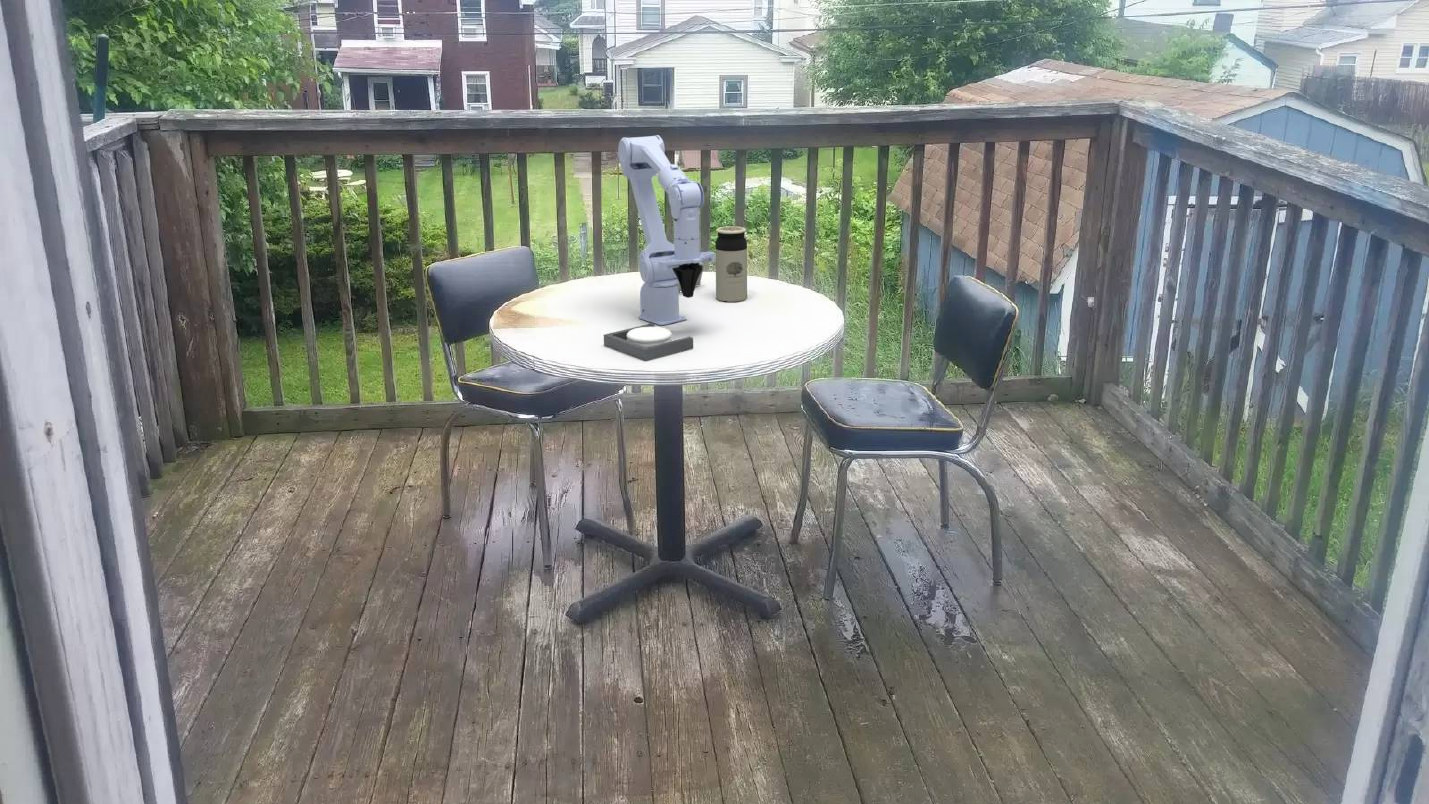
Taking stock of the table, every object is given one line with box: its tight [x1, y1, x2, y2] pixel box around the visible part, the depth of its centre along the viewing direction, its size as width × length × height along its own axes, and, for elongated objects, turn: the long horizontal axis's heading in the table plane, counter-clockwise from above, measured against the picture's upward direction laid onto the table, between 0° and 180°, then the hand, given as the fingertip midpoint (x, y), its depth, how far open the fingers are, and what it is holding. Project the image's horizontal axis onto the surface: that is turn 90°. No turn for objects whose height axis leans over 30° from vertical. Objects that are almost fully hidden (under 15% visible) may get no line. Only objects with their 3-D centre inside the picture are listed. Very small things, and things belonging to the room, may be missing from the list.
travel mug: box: [715, 225, 748, 303], centre depth 284 cm, size 8×8×18 cm
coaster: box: [627, 326, 673, 348], centre depth 248 cm, size 10×10×4 cm
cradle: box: [603, 323, 694, 362], centre depth 248 cm, size 15×13×2 cm
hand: (687, 296), depth 255 cm, fingers closed
